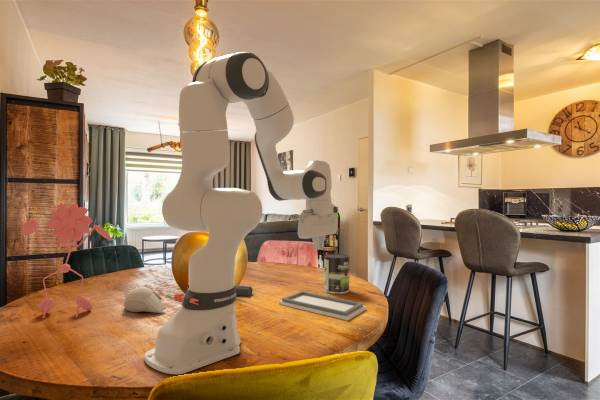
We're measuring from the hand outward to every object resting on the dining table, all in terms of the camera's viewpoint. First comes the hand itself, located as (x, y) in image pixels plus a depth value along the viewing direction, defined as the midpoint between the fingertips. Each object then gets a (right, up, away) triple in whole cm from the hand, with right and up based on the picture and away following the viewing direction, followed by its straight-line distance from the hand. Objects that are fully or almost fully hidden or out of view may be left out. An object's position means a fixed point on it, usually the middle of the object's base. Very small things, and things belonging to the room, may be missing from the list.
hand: (318, 249), depth 114 cm
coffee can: (+8, -20, +20) cm, 30 cm away
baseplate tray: (+1, -20, 0) cm, 20 cm away
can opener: (-34, -17, +17) cm, 42 cm away
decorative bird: (-52, -22, -7) cm, 57 cm away
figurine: (-80, -19, -7) cm, 83 cm away
